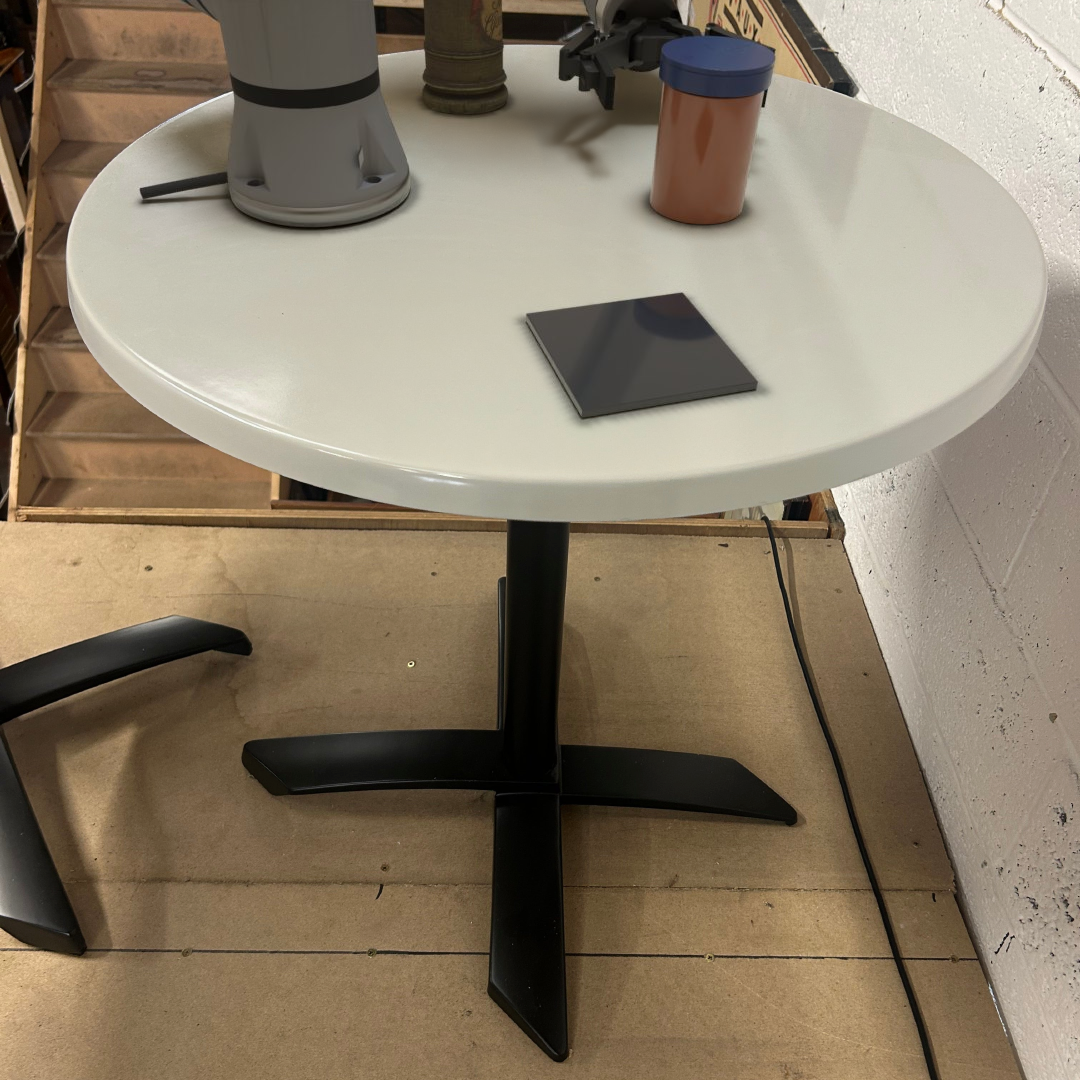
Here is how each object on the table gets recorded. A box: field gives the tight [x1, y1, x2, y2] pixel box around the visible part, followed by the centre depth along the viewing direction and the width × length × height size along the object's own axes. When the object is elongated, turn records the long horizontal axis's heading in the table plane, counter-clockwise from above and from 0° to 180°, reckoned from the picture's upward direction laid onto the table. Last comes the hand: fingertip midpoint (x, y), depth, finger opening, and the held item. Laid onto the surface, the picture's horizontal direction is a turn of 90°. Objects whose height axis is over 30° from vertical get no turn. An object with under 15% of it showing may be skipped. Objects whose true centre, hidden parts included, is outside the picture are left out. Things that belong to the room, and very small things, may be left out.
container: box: [421, 0, 509, 115], centre depth 90 cm, size 9×9×18 cm
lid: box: [658, 36, 776, 97], centre depth 72 cm, size 9×9×2 cm
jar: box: [649, 81, 764, 225], centre depth 75 cm, size 8×8×12 cm
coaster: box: [525, 291, 759, 419], centre depth 62 cm, size 12×12×1 cm
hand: (687, 92), depth 79 cm, fingers open, 13 cm apart
